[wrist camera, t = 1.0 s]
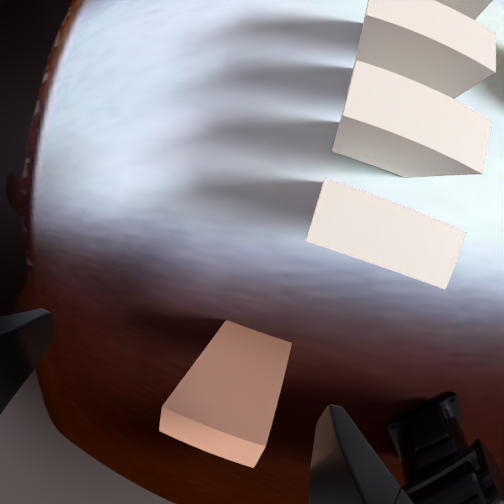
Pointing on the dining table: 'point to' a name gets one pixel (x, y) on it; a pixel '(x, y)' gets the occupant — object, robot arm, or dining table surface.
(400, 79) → the tile
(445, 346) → the dining table surface
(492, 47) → the tile
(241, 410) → the tile
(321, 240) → the tile
